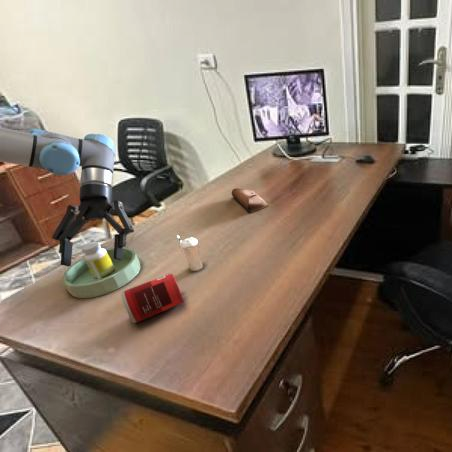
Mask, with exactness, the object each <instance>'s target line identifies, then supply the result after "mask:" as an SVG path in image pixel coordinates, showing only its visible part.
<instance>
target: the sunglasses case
mask: <svg viewBox="0 0 452 452" xmlns="http://www.w3.org/2000/svg"><path fill="white" fill-rule="evenodd" d="M231 196H232V197H233V199H235V200H236V201H237V202H238V203H239V204H241V205H242V206H243V208H245V209H246V211H248V212H250V213H253V212H257V211H260V210H263V209H265V208H267V207H268V206H269V203H267V201H265V200H264V199H263V198H262V197H261V196H259V194H257V193H256V191H254V190H252V189H244V188H233V189H232V191H231Z"/></svg>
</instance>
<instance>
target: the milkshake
mask: <svg viewBox="0 0 452 452" xmlns="http://www.w3.org/2000/svg"><path fill="white" fill-rule="evenodd" d="M176 238H177V239H178V241H179V242H180V243H179V248H180V251H181V252H182V254H183V255H184V258H185V260H186V262H187V264H188V267H189V269H190V270H191V272H198V271H200V270H201V269H203V267H204V264H203V259H202V256H201V252H200V246H199V241H198V239H197V238H195V237H192V236H189V237H187V238H184V239H183V240H182V239H181V238H180V236H179V235H176Z"/></svg>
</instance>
